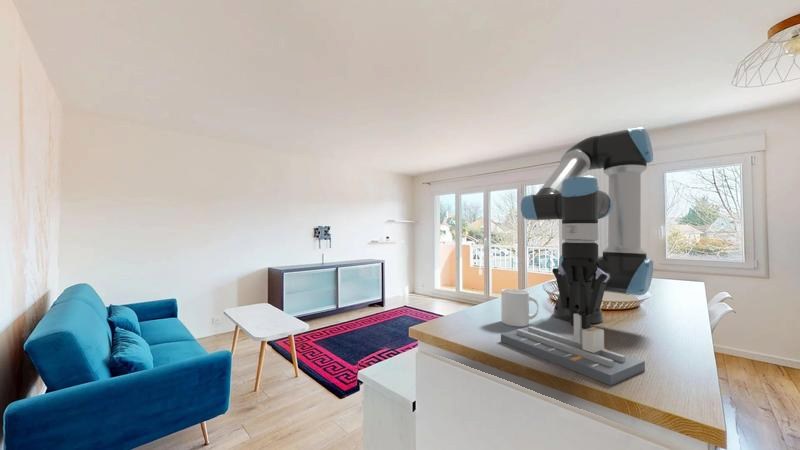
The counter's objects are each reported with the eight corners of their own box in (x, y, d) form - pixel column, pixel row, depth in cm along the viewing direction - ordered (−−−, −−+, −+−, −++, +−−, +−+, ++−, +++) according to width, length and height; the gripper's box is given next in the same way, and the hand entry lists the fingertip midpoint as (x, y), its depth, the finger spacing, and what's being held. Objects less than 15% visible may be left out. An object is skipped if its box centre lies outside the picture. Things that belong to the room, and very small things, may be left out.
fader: (593, 350, 72) (593, 326, 73) (604, 354, 70) (603, 329, 71) (582, 354, 70) (582, 329, 70) (593, 358, 68) (593, 332, 68)
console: (533, 333, 92) (533, 322, 92) (644, 370, 68) (644, 355, 68) (500, 341, 85) (500, 329, 85) (610, 385, 61) (610, 369, 61)
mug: (544, 327, 98) (543, 294, 98) (505, 327, 98) (505, 293, 98) (533, 320, 106) (533, 289, 106) (498, 319, 107) (498, 288, 107)
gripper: (545, 241, 77) (545, 335, 77) (599, 242, 66) (600, 353, 65) (563, 240, 81) (563, 331, 80) (618, 242, 70) (619, 347, 69)
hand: (580, 341), depth 73 cm, fingers closed
